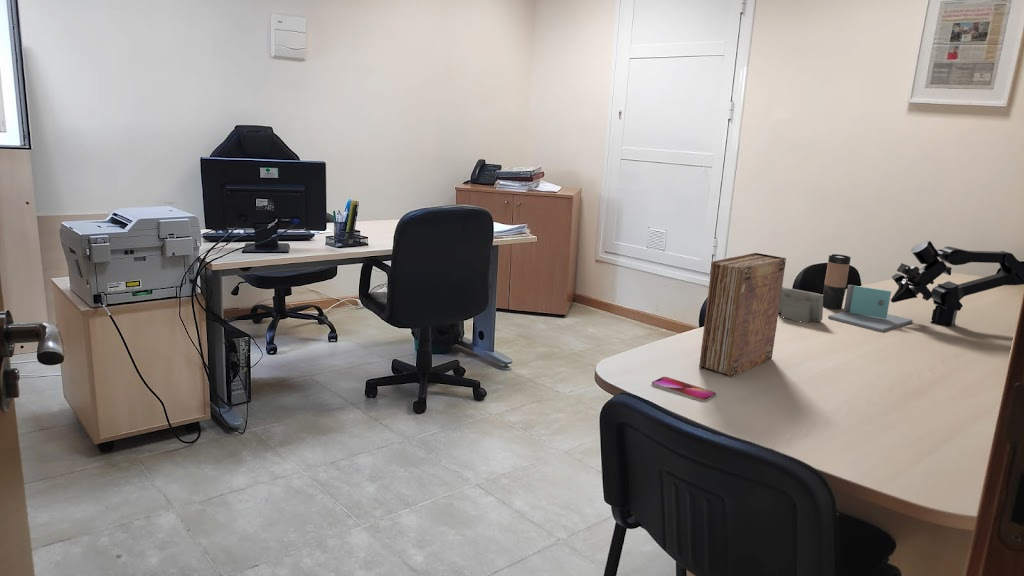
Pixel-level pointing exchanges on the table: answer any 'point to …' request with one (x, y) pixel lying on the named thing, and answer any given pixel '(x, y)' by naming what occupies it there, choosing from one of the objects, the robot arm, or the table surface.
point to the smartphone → (683, 389)
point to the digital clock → (801, 305)
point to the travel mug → (835, 281)
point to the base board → (871, 321)
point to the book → (741, 312)
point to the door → (867, 301)
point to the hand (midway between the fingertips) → (891, 301)
